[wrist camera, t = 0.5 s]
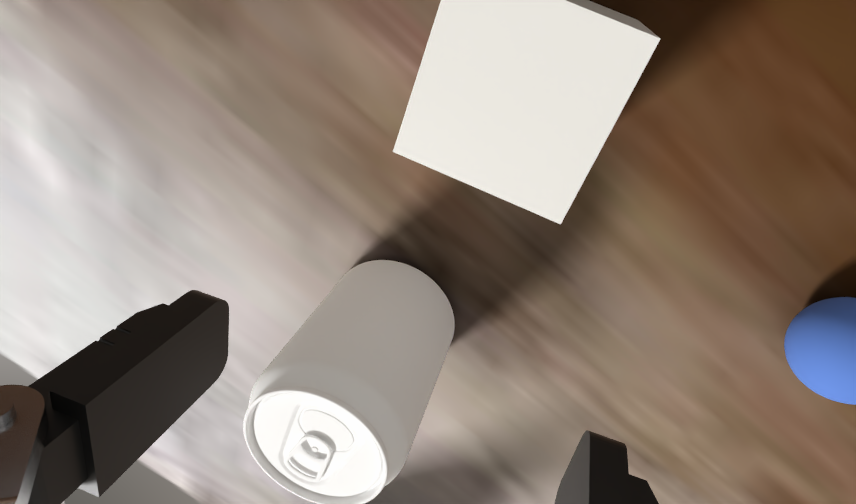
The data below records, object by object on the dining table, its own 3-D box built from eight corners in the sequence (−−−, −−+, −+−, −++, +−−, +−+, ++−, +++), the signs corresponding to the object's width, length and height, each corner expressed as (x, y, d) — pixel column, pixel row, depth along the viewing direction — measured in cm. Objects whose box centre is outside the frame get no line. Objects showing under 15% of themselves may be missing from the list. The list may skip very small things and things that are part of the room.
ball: (814, 262, 26) (858, 317, 22) (912, 304, 26) (977, 368, 22) (750, 335, 29) (779, 398, 24) (839, 374, 28) (884, 444, 24)
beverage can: (480, 300, 32) (429, 449, 22) (422, 380, 36) (355, 539, 26) (366, 231, 32) (262, 348, 22) (321, 320, 36) (215, 454, 26)
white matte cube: (497, -37, 24) (455, -45, 17) (638, 19, 24) (660, 38, 16) (447, 104, 28) (392, 151, 20) (568, 156, 27) (560, 224, 19)
